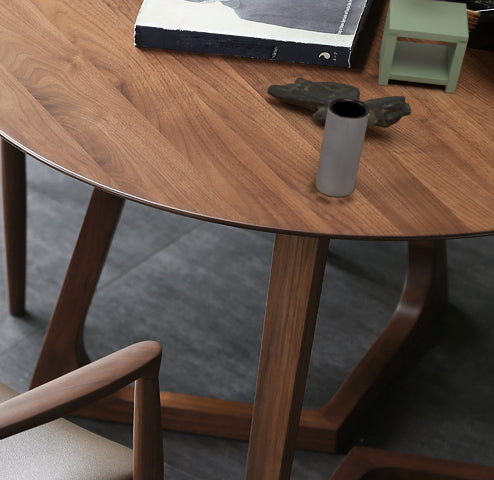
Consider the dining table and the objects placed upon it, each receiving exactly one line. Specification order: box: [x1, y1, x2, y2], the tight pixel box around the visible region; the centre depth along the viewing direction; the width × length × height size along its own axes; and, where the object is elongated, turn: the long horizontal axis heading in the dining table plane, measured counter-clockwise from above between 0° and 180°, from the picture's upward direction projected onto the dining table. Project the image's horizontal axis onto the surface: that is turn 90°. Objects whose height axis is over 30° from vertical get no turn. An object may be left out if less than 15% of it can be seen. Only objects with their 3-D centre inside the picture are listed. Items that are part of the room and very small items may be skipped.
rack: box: [377, 0, 470, 94], centre depth 144 cm, size 10×10×8 cm
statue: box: [267, 76, 412, 129], centre depth 135 cm, size 6×6×20 cm
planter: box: [314, 98, 369, 198], centre depth 122 cm, size 4×4×10 cm
